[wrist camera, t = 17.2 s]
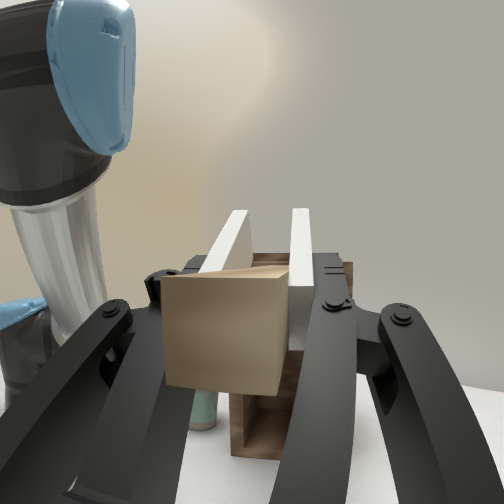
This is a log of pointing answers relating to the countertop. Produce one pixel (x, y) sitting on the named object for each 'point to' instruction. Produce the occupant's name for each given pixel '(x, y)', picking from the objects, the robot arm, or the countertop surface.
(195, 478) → the countertop surface
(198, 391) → the coffee cup
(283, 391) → the walnut shelf
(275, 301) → the beige long flat part
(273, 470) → the countertop surface
